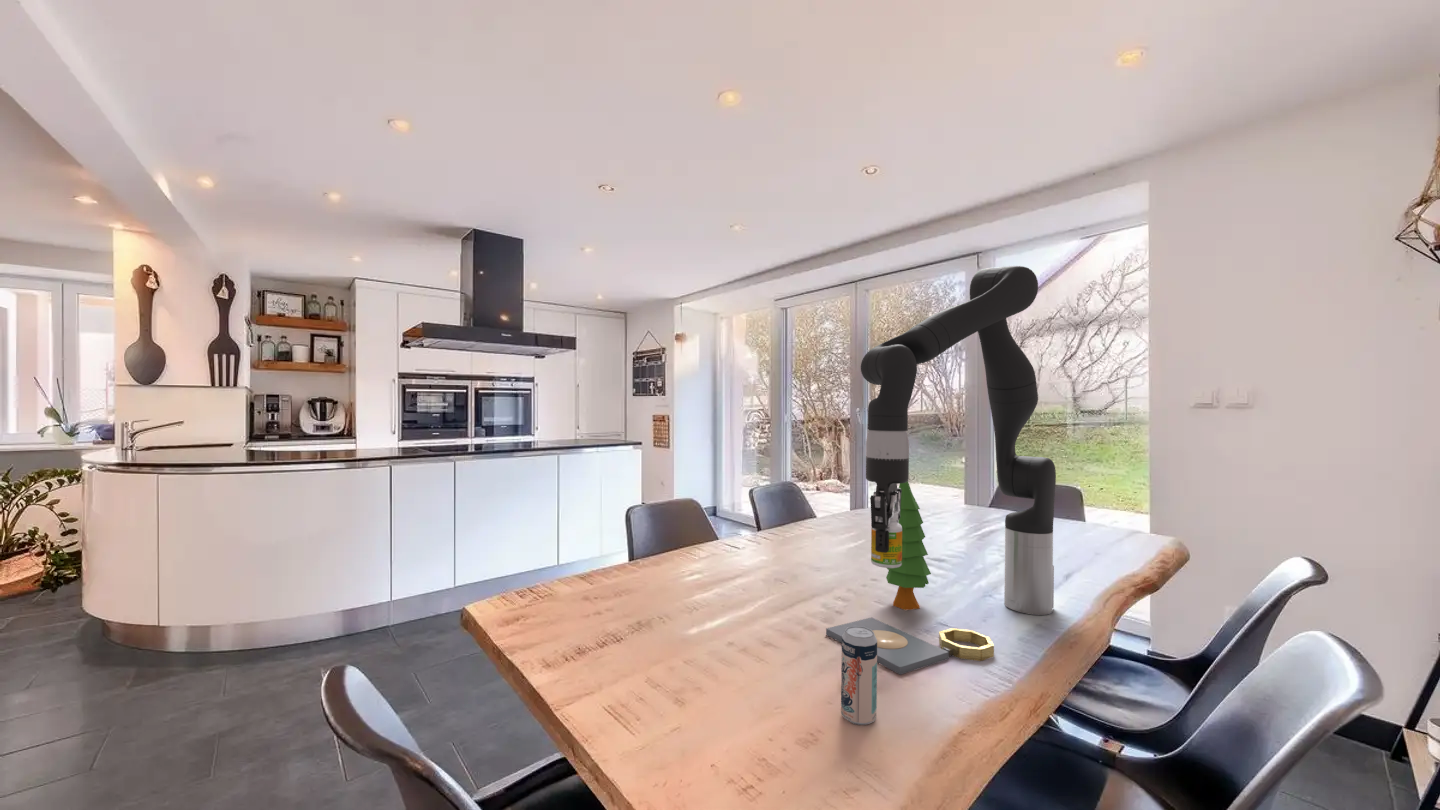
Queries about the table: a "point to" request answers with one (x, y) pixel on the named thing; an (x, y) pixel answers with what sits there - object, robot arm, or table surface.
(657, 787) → the table surface
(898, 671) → the board
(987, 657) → the collar
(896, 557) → the supplement bottle
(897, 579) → the decorative tree
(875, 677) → the beer can
